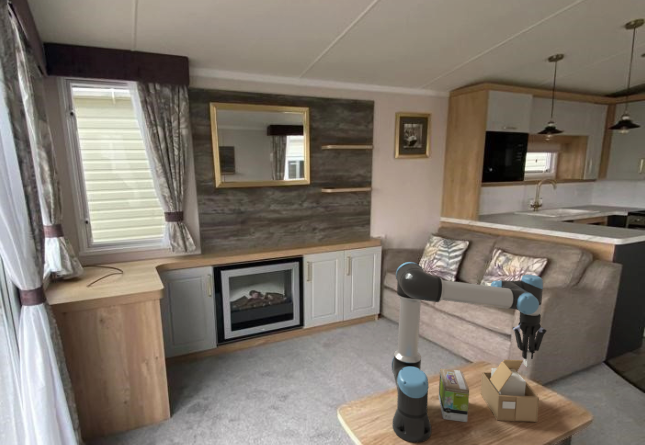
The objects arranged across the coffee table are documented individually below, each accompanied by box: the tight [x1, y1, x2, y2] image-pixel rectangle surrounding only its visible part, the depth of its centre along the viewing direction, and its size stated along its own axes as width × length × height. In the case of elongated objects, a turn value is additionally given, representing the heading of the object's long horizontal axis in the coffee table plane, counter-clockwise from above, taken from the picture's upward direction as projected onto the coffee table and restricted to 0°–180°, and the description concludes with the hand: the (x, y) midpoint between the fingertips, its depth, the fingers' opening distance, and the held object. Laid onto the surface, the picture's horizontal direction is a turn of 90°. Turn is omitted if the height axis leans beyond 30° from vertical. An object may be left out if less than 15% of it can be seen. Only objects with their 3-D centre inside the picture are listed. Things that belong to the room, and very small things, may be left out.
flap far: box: [502, 359, 524, 372], centre depth 154 cm, size 10×8×1 cm
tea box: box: [438, 368, 470, 423], centre depth 149 cm, size 15×10×15 cm, turn 168°
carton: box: [480, 367, 540, 423], centre depth 149 cm, size 16×19×15 cm
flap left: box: [490, 360, 512, 392], centre depth 147 cm, size 10×9×1 cm
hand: (526, 365), depth 145 cm, fingers closed
